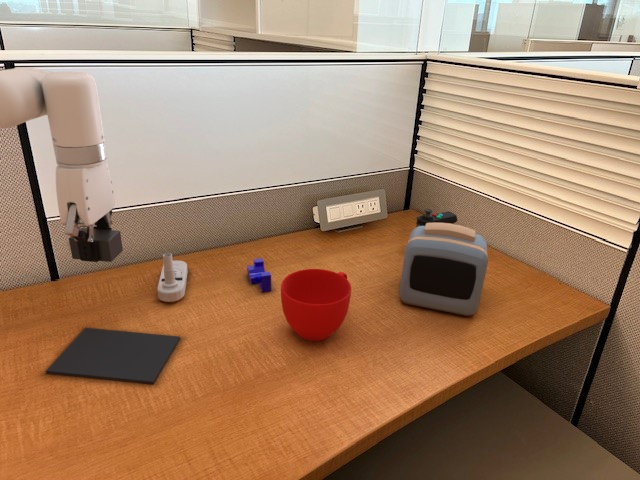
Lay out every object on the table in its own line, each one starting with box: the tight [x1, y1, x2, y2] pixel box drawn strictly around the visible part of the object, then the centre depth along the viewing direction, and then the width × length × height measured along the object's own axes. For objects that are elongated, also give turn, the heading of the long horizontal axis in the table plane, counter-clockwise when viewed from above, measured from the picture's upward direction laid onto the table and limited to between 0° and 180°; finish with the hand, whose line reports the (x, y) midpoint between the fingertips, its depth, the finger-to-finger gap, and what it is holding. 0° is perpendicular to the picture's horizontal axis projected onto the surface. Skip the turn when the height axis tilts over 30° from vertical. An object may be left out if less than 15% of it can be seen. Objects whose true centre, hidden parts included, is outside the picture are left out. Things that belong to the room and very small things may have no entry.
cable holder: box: [246, 258, 272, 293], centre depth 106 cm, size 8×4×4 cm, turn 20°
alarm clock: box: [398, 223, 489, 317], centre depth 103 cm, size 16×16×16 cm
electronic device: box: [156, 252, 189, 303], centre depth 103 cm, size 5×10×15 cm
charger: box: [66, 227, 124, 263], centre depth 84 cm, size 8×4×4 cm, turn 86°
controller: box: [415, 208, 458, 227], centre depth 128 cm, size 4×12×10 cm, turn 118°
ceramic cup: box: [280, 268, 352, 342], centre depth 91 cm, size 13×17×10 cm
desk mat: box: [45, 327, 181, 385], centre depth 83 cm, size 18×12×1 cm, turn 85°
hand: (97, 252), depth 85 cm, fingers closed on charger, 4 cm apart
